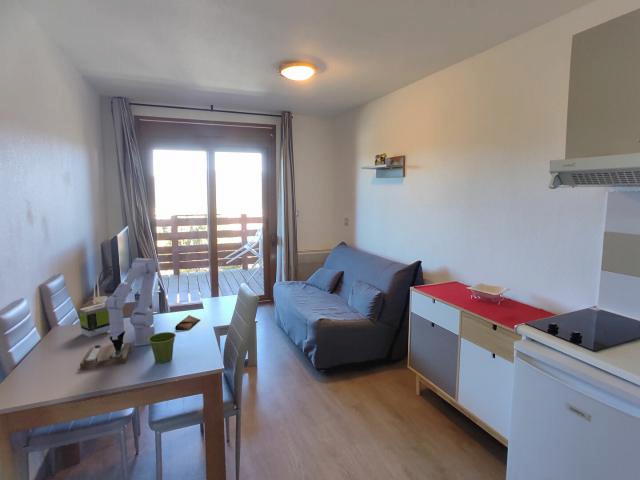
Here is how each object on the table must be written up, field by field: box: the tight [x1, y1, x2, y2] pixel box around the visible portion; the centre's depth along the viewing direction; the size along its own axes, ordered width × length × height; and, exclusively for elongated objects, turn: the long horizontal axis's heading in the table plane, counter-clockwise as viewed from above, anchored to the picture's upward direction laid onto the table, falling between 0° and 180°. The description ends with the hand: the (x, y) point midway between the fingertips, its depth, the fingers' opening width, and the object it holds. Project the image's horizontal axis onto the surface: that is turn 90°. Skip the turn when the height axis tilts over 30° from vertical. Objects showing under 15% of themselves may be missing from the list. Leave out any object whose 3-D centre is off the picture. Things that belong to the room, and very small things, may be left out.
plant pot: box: [148, 331, 177, 364], centre depth 167 cm, size 12×12×11 cm
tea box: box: [78, 302, 110, 338], centre depth 202 cm, size 15×10×15 cm, turn 144°
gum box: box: [134, 287, 154, 325], centre depth 207 cm, size 20×5×23 cm, turn 13°
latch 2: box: [112, 344, 124, 358], centre depth 170 cm, size 3×13×1 cm, turn 20°
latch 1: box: [87, 347, 101, 361], centre depth 167 cm, size 3×13×1 cm, turn 20°
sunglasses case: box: [174, 314, 201, 332], centre depth 212 cm, size 18×7×7 cm
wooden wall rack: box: [79, 342, 133, 371], centre depth 170 cm, size 18×18×5 cm
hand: (118, 348), depth 171 cm, fingers closed on latch 2, 3 cm apart
